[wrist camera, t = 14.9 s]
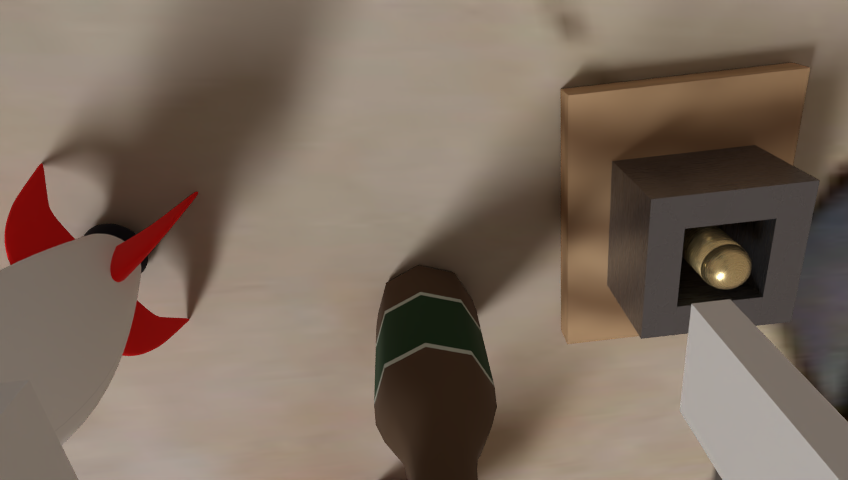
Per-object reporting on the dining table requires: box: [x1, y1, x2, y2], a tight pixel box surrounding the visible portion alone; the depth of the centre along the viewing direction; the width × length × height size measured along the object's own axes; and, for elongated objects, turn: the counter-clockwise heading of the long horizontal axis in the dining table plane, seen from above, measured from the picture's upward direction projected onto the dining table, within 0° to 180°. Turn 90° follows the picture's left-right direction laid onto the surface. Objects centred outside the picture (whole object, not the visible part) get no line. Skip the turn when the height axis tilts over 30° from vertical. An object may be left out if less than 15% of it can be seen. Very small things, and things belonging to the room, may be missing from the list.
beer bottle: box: [374, 265, 497, 480], centre depth 38 cm, size 8×8×24 cm
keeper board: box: [561, 63, 810, 344], centre depth 45 cm, size 20×16×2 cm
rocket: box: [0, 163, 198, 446], centre depth 34 cm, size 11×11×25 cm
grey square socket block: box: [607, 145, 820, 339], centre depth 41 cm, size 10×10×7 cm
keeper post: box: [682, 225, 752, 289], centre depth 41 cm, size 3×3×8 cm
